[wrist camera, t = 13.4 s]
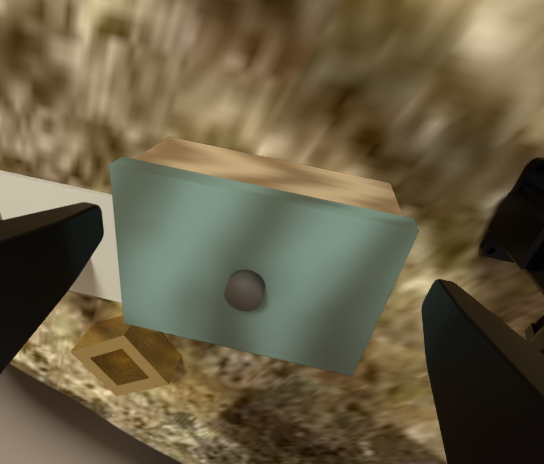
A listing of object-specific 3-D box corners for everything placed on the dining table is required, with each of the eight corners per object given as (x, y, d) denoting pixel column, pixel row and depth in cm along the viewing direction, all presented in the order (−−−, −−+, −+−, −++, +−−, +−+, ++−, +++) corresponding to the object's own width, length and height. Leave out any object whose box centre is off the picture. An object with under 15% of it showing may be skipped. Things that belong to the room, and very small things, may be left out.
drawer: (396, 179, 21) (424, 242, 15) (348, 306, 26) (353, 391, 20) (163, 131, 21) (96, 172, 15) (164, 265, 27) (115, 335, 21)
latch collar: (141, 308, 30) (123, 335, 27) (181, 356, 32) (168, 384, 30) (91, 325, 32) (70, 351, 29) (132, 368, 34) (116, 396, 32)
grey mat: (127, 197, 24) (124, 200, 24) (134, 301, 30) (131, 304, 29) (-7, 168, 25) (-12, 170, 24) (23, 276, 30) (19, 279, 30)
